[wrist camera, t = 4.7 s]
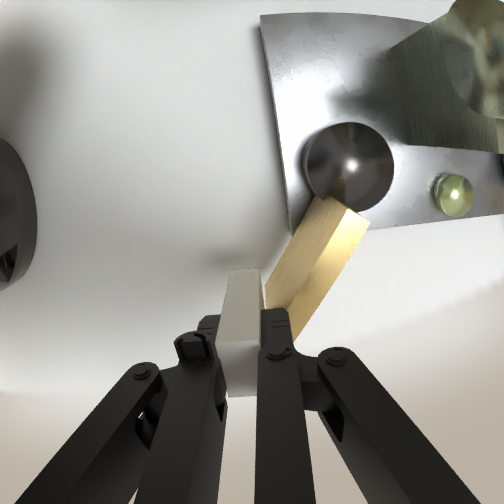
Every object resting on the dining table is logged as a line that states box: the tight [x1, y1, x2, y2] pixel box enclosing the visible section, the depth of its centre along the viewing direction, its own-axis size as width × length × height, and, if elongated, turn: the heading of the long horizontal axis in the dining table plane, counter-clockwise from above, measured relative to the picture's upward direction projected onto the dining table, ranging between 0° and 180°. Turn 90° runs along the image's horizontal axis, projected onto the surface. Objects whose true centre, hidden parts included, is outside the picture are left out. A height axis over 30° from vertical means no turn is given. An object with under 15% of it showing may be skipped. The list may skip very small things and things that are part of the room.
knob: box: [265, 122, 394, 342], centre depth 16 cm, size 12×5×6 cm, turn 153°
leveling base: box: [260, 0, 504, 237], centre depth 11 cm, size 24×15×15 cm, turn 98°
